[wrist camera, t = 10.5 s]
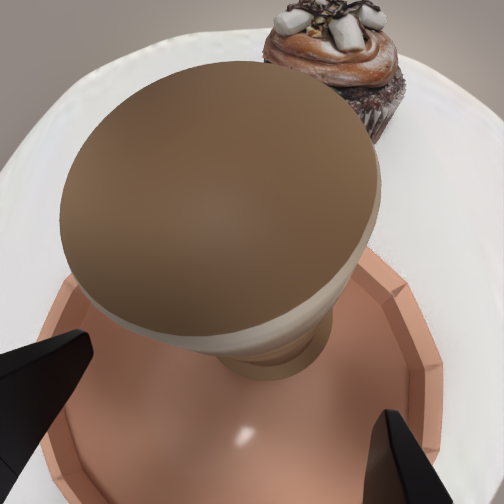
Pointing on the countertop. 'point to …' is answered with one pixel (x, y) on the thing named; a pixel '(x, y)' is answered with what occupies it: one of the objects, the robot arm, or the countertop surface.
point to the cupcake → (342, 55)
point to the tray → (242, 407)
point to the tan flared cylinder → (224, 213)
